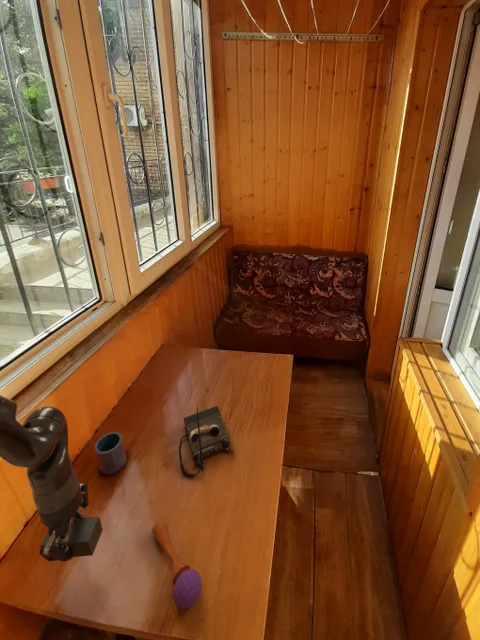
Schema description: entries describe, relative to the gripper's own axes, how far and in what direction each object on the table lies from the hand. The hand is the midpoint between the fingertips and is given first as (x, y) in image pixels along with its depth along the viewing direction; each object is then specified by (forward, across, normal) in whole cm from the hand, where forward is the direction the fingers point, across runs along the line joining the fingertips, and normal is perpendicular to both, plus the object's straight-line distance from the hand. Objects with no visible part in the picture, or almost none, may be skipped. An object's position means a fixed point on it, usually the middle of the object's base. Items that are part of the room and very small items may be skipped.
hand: (74, 542), depth 72 cm
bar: (+1, 0, 0) cm, 1 cm away
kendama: (+9, +2, +22) cm, 24 cm away
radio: (+9, -28, +24) cm, 38 cm away
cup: (+9, -26, -4) cm, 28 cm away
